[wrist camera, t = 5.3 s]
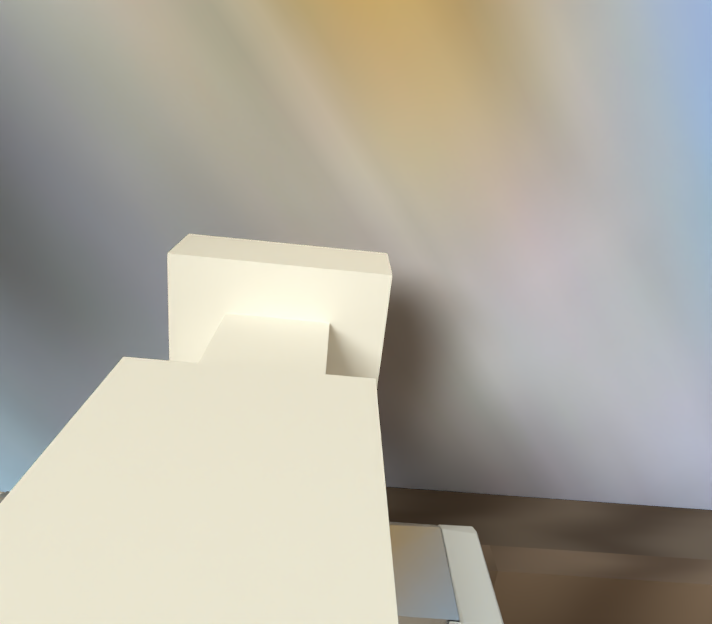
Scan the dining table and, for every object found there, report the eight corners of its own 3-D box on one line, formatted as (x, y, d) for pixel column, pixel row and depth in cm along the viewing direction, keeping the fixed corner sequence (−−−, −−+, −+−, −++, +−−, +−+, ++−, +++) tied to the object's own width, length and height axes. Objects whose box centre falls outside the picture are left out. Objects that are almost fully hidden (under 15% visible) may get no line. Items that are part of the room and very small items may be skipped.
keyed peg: (387, 253, 14) (479, 645, 4) (365, 420, 16) (393, 972, 6) (188, 233, 14) (-214, 599, 4) (189, 406, 16) (-86, 955, 6)
